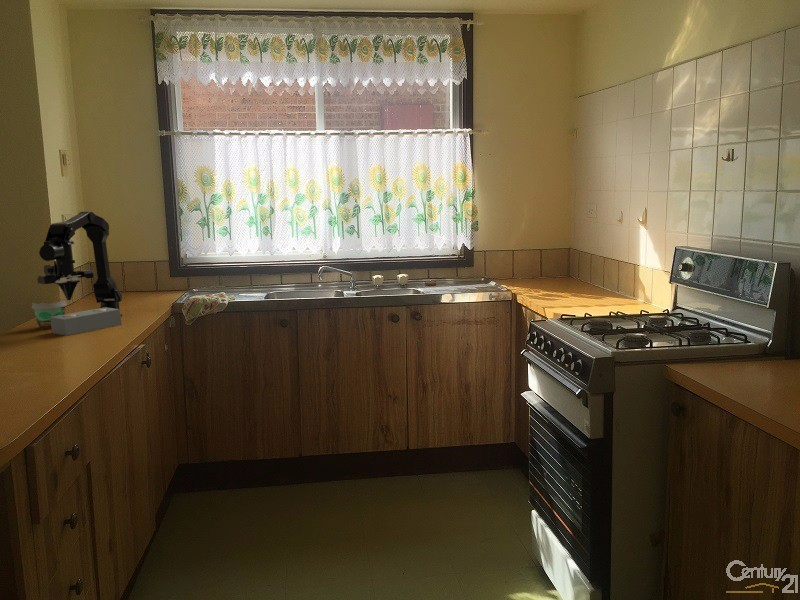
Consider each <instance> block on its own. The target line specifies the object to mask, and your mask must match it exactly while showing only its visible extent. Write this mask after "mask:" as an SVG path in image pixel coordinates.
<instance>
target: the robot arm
mask: <svg viewBox="0 0 800 600" xmlns="http://www.w3.org/2000/svg"><path fill="white" fill-rule="evenodd" d="M81 228H82V230H84V231H85V234H86V236H87V238H88V239H89V240H90V242H91V243H92V248H93V255H94V263H95V270H96V277H97V279H96V281H95V282H94V283H93V284H92V285H93V294H94V297H95V300H96V303H98V304H99V303H100V307H99V308H104V307H107V308H114V309H120V302H122V301H123V295H122V293H121V292H120V290H119V289H118V287H117V283H116V281H115V280H114V278H112V276H111V270H110V269H111V268H110V264H109V256H108V249H107V239H108V237H109V236H110V230H109V229H110V224H109V222H107V220H105V218H103V217H101V216H99V215H97V214H95V213H94V212H93V211H91V210H90V211H80V212H78V213H77V214H76V215H74V216H72V217H70V218H68V219H67V220H66V221H60V222H52V223H51V224H50V225H49V227H48V230H47V232H46V237H45V240H44V241H43V245H42V246H41V247H40V249H39V251H38V253H39V256H40V258H41V259H42V260H43V261H46V262H50V261H53V265H50V264H46V265H44V266H43V273H44V274H41V275H38V276H37V279H36V280H37V284H39V285H40V284H41V285H50V284H51V285H52V284H55V285H57V286H58V287H59V288H60V289H61V291H62V293H63V294H64V297H65V300H67V301H72V298H73V295H74V292H75V290H76V287H77V285H78V284H79V283H81V280H79V278H80V279H81V278H85V279H93V278H95V273H94V271H93V270H91V269H80V270H75V265H74V264H76V260H75V259H74V257H73V256H74V255H73V250H72V249H73V248H72V245H74V244H75V242H74V241H73V240H72V238H73V237H74V235H76V231H78V230H79V229H81ZM120 315H121V317H122V316H123V314H121V313H120Z"/></svg>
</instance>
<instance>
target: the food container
mask: <svg viewBox="0 0 800 600" xmlns="http://www.w3.org/2000/svg"><path fill="white" fill-rule="evenodd" d="M66 306H68V305H67V301H66V299H64V300H62V301H56V302H55V301H54V302H45V303H34V302H32V304H31V309H33V311H34V316H35V320H36V323H37V328H38V330H52V328H51V319H50V317H53V316H59V315H64V314H66Z"/></svg>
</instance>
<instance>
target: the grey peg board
mask: <svg viewBox="0 0 800 600" xmlns="http://www.w3.org/2000/svg"><path fill="white" fill-rule="evenodd" d="M100 309H106V311H101V312H95V310H100ZM120 314H121V309H120V308H119V309H114V308H107V307H104V308H100V307H99V308H93V309H87V310H82V311H76V312H70V313H65V314H64V315H59V316H53V317H50V319H51V328H52V329H51V333H52V334H56V335H61V336H66V337H67V336H71V335H77V334H81V333H87V332H91V331H96V330H102V329H106V328H107V329H108V328H112V327H117V326H121V325H122V316H121V315H120ZM66 315H76V316H73V317H65V316H66Z"/></svg>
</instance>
